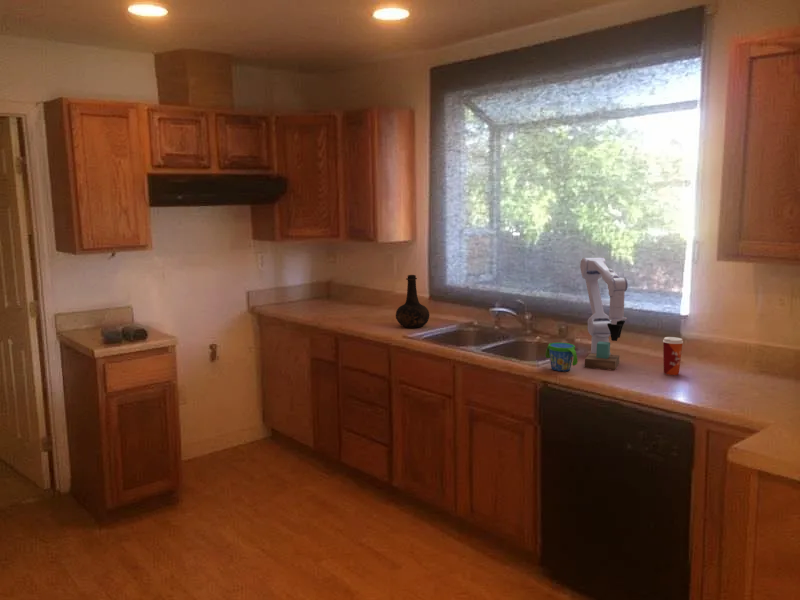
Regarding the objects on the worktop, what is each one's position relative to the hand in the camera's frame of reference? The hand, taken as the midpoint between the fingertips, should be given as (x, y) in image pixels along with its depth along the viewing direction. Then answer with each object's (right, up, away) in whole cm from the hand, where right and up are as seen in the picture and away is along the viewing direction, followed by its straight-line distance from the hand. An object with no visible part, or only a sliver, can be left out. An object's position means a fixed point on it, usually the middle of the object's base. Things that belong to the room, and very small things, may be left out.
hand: (615, 339), depth 295 cm
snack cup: (-25, -12, -9) cm, 29 cm away
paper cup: (+17, -13, -15) cm, 26 cm away
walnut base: (-6, -11, -2) cm, 13 cm away
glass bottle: (-83, +2, +86) cm, 119 cm away
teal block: (-6, -7, -2) cm, 10 cm away
